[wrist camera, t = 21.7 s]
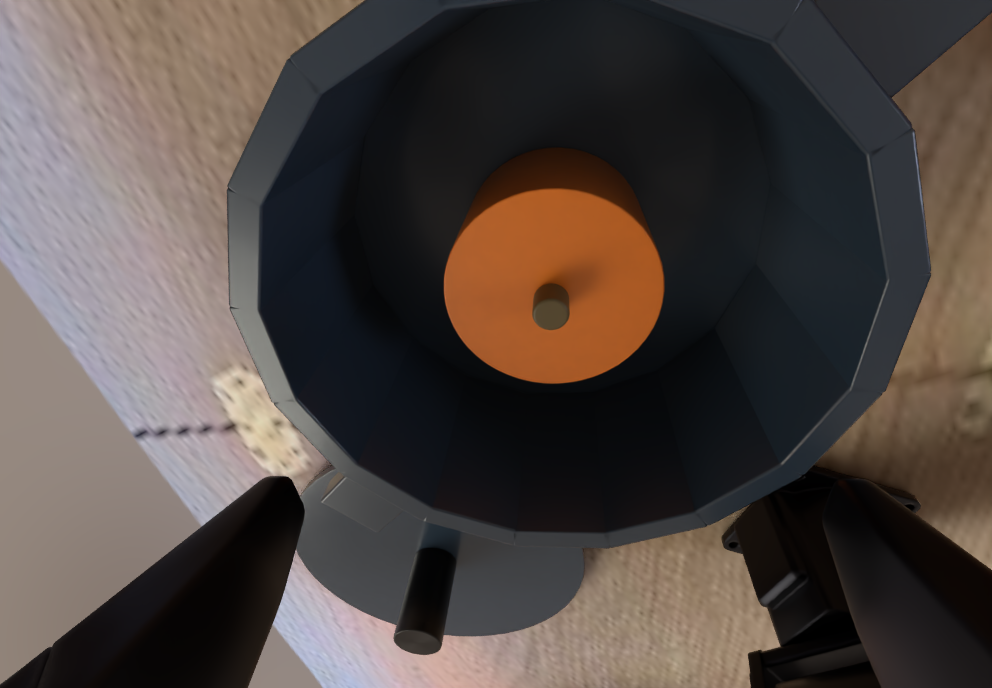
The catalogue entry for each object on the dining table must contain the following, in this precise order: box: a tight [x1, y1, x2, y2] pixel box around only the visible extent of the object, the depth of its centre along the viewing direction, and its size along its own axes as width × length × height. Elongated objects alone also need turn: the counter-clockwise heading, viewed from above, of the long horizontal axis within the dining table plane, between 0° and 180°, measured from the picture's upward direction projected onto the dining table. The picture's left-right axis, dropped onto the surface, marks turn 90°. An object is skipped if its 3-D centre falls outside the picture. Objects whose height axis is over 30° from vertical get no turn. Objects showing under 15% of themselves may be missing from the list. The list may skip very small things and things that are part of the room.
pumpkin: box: [444, 147, 665, 383], centre depth 16 cm, size 6×6×5 cm
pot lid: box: [296, 465, 585, 655], centre depth 27 cm, size 17×17×6 cm
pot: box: [227, 0, 992, 548], centre depth 15 cm, size 16×21×8 cm
